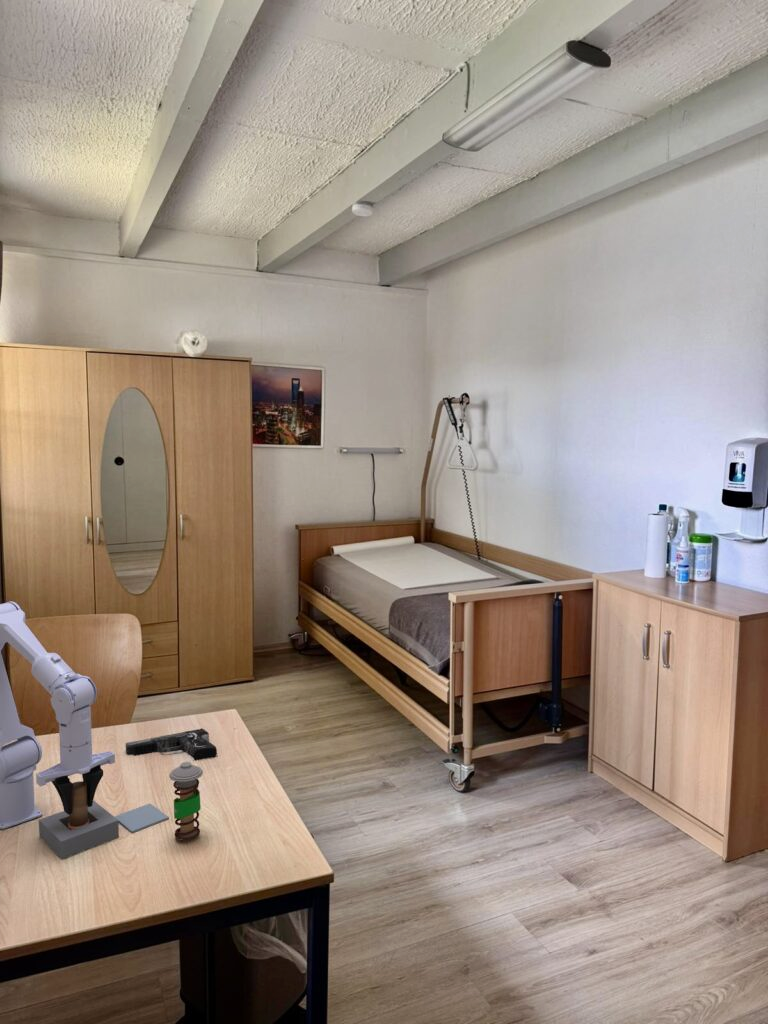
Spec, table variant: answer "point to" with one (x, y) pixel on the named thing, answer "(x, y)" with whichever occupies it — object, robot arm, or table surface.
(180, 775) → the shock absorber
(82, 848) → the frame
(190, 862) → the table surface
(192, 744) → the handgun
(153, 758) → the table surface
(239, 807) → the table surface
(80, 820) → the dowel
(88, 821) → the orange domed disc
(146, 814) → the mat
